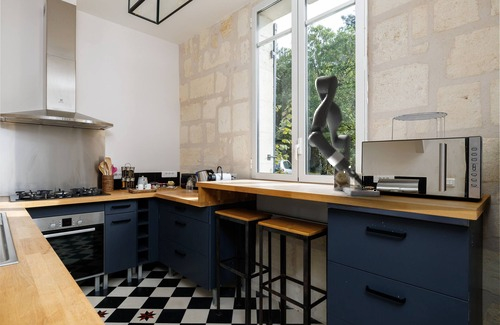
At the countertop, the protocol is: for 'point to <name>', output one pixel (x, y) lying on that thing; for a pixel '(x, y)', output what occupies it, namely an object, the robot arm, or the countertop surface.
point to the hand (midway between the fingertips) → (362, 184)
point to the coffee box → (341, 179)
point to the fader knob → (357, 182)
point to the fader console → (361, 192)
